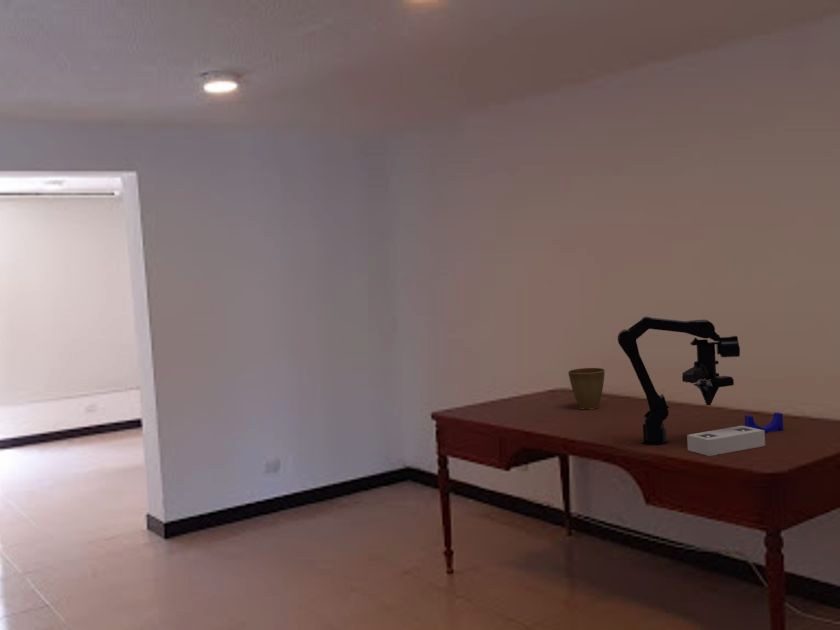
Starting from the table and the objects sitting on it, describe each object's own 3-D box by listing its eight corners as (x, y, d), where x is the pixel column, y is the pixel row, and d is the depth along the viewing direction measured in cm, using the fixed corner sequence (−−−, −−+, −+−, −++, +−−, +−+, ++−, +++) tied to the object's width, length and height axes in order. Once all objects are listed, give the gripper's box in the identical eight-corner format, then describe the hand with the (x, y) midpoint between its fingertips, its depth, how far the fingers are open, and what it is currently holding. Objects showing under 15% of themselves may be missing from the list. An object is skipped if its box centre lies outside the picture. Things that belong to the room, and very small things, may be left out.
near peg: (699, 449, 271) (698, 435, 271) (709, 447, 273) (708, 433, 273) (707, 452, 268) (707, 437, 267) (718, 450, 269) (717, 435, 269)
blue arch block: (751, 435, 290) (750, 417, 289) (745, 432, 294) (744, 415, 294) (785, 432, 291) (784, 414, 290) (778, 429, 295) (778, 412, 295)
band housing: (687, 450, 274) (687, 434, 273) (742, 440, 282) (741, 425, 281) (709, 456, 264) (708, 440, 264) (765, 446, 272) (764, 430, 272)
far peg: (734, 443, 277) (733, 429, 276) (744, 441, 278) (743, 427, 278) (743, 445, 273) (742, 431, 273) (753, 443, 274) (752, 429, 274)
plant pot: (576, 404, 368) (574, 367, 367) (610, 405, 361) (608, 367, 360) (565, 411, 355) (563, 373, 354) (601, 412, 348) (599, 372, 347)
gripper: (668, 358, 288) (670, 404, 289) (705, 363, 271) (708, 412, 272) (694, 355, 292) (697, 400, 293) (733, 359, 275) (736, 407, 276)
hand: (708, 405), depth 283 cm, fingers closed
